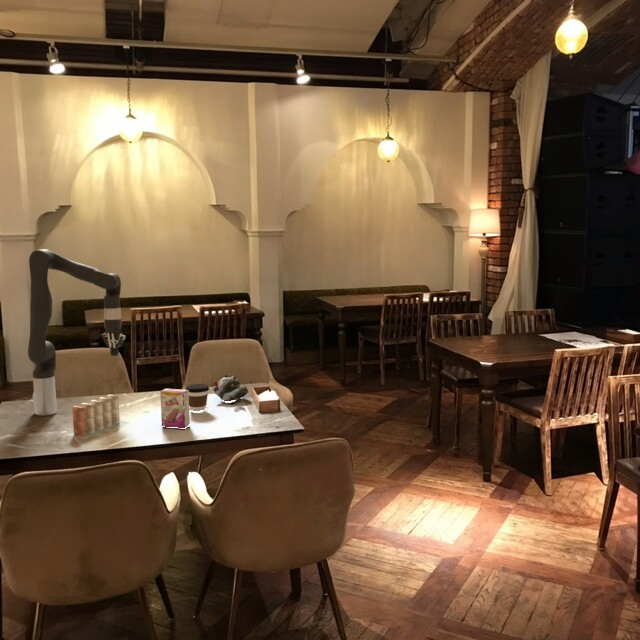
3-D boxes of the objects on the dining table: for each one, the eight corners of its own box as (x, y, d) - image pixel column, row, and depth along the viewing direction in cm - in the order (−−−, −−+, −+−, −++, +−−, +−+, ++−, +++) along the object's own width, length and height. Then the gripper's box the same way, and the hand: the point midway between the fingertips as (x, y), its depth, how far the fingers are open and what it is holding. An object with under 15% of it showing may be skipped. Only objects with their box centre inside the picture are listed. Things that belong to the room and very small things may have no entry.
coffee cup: (207, 415, 320) (206, 389, 318) (183, 415, 320) (182, 389, 319) (211, 408, 331) (211, 383, 329) (188, 408, 331) (187, 383, 329)
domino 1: (73, 434, 291) (72, 406, 289) (76, 433, 292) (75, 405, 290) (83, 436, 288) (81, 408, 287) (85, 435, 290) (84, 407, 288)
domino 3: (91, 428, 299) (90, 400, 298) (94, 427, 301) (92, 399, 299) (100, 429, 297) (99, 402, 295) (103, 428, 299) (101, 401, 297)
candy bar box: (161, 428, 301) (159, 390, 298) (166, 424, 306) (165, 388, 303) (185, 430, 298) (183, 392, 295) (190, 426, 303) (189, 389, 300)
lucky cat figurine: (227, 406, 334) (214, 380, 335) (219, 410, 344) (206, 385, 345) (253, 392, 342) (240, 367, 343) (244, 397, 352) (231, 372, 353)
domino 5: (108, 422, 308) (107, 395, 307) (111, 421, 310) (109, 394, 308) (117, 423, 306) (115, 396, 304) (119, 422, 308) (118, 395, 306)
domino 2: (82, 431, 295) (81, 403, 293) (85, 430, 296) (84, 402, 295) (91, 433, 293) (90, 405, 291) (94, 432, 294) (93, 404, 292)
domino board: (63, 436, 290) (63, 435, 290) (108, 420, 313) (108, 418, 313) (85, 440, 285) (85, 439, 285) (129, 423, 308) (129, 422, 308)
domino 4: (100, 425, 304) (98, 398, 302) (102, 424, 305) (101, 397, 304) (109, 426, 302) (107, 399, 300) (111, 425, 303) (110, 398, 301)
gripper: (95, 318, 317) (97, 355, 320) (118, 319, 311) (120, 358, 314) (107, 315, 324) (109, 352, 326) (130, 317, 318) (131, 355, 320)
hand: (114, 355), depth 320 cm, fingers closed
